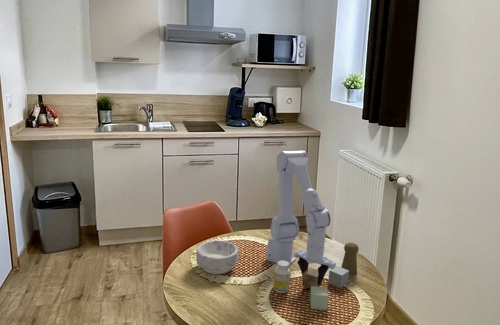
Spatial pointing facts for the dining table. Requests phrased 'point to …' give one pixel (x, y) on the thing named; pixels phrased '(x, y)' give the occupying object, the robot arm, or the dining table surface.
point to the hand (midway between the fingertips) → (312, 281)
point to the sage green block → (319, 298)
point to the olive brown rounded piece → (350, 258)
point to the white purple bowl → (217, 256)
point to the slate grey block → (338, 276)
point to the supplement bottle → (282, 277)
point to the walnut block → (310, 278)
